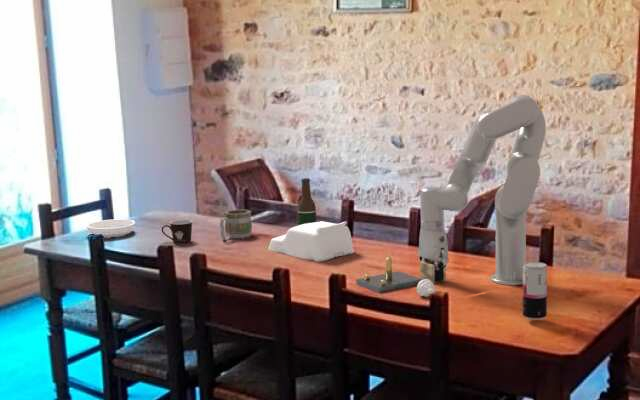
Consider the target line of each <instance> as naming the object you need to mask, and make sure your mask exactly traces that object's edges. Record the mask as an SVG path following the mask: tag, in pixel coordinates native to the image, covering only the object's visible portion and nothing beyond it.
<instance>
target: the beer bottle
mask: <svg viewBox="0 0 640 400" xmlns="http://www.w3.org/2000/svg"><path fill="white" fill-rule="evenodd" d="M310 182H311V179H310V178H308V177H307V178H306V177H305V178H301V198H300V200H299V201H298V203H297V226H299V225H302V224H307V223H314V222H317V210H316V209H317V207H316V203H315V201H314V200H313V198H312V196H311V195H312V194H311V185H310Z"/></svg>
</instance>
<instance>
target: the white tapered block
mask: <svg viewBox="0 0 640 400" xmlns="http://www.w3.org/2000/svg"><path fill="white" fill-rule="evenodd" d="M347 224H348V222H347V221H343V222H340V223H334V222H327V221H321V220H320V221H316V222H314V223H307V224H302V225H299V226H298V225H296V226H292V227H290V228H289V229H288V230H287V231H286V234H283V235H279V236H277V237H273V238H271V240H270V243H269V246H268V251H271V252H276V253H281V254H285V255H287V256H291V257H295V258H297V259H298V258H299V259H301V260H302V259H303V260H311V261H314V262H317V263H320V262H325V261H328V260H332V259H334V258H338V257H341V256H347V255H349V254H350V255H352V254H354V252H355V249H354V245H353V240H352V235H351V231H350V229H349V227H348V226H347Z"/></svg>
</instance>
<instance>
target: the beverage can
mask: <svg viewBox="0 0 640 400" xmlns="http://www.w3.org/2000/svg"><path fill="white" fill-rule="evenodd" d="M547 298H548V267H547V264H546V263H544V262H540V261H528V262H526V263H524V266H523V284H522V316H523V317H524V318H526V319H528V320H542V319H544V318H546V317H547V312H548V311H547V310H548V309H547V307H548V305H547V303H548V301H547V300H548V299H547Z"/></svg>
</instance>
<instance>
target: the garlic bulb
mask: <svg viewBox="0 0 640 400" xmlns="http://www.w3.org/2000/svg"><path fill="white" fill-rule="evenodd" d="M416 292H417V294H418V295H419V296H421V297H424V298H429V297H430V296H431V295H430V294H431V293H433V292H435V293H436V286H435V285H434V283H432V282H431V281H430V280H429V279H424V280H421V281H420V282H419V283H418V285H416ZM433 294H434V293H433Z"/></svg>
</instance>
